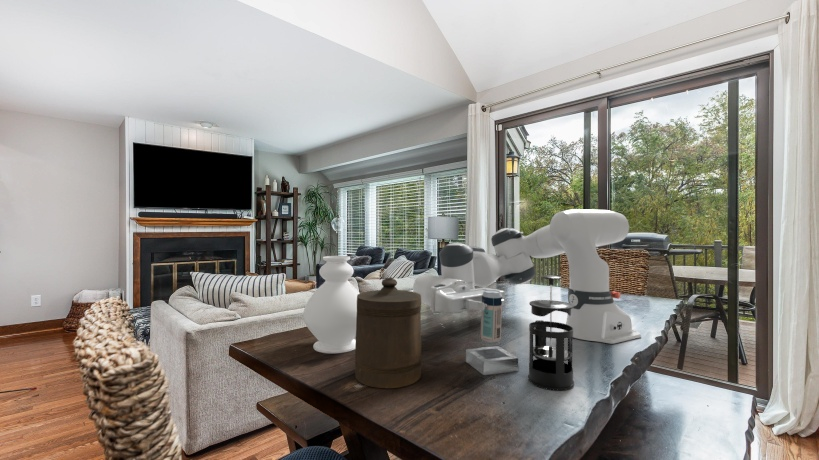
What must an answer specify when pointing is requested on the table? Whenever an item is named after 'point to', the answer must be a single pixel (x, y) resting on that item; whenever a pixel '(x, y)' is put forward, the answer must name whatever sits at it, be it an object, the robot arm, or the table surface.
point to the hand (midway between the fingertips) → (494, 305)
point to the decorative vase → (333, 308)
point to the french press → (549, 359)
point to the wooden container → (388, 337)
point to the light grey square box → (491, 360)
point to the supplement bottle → (491, 316)
